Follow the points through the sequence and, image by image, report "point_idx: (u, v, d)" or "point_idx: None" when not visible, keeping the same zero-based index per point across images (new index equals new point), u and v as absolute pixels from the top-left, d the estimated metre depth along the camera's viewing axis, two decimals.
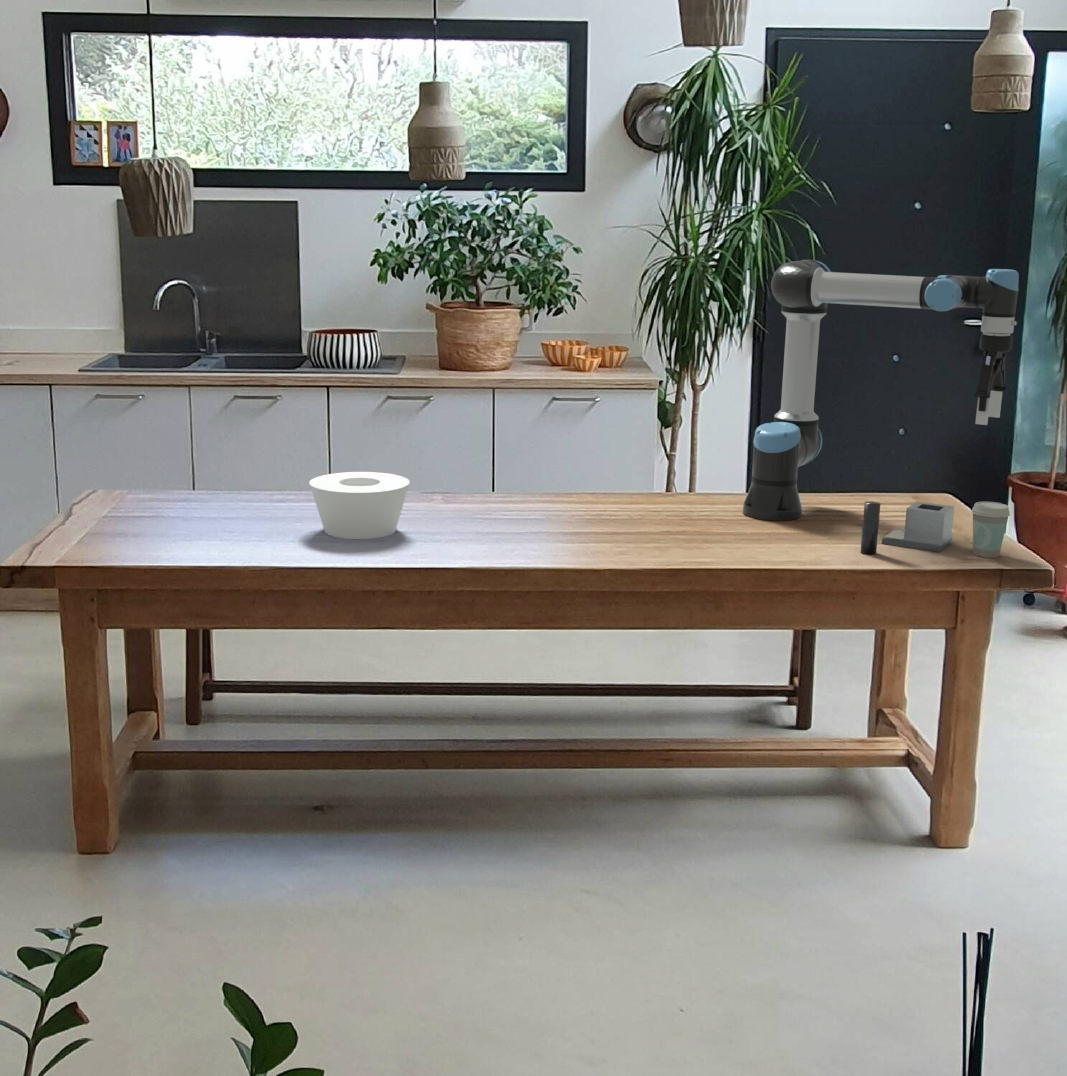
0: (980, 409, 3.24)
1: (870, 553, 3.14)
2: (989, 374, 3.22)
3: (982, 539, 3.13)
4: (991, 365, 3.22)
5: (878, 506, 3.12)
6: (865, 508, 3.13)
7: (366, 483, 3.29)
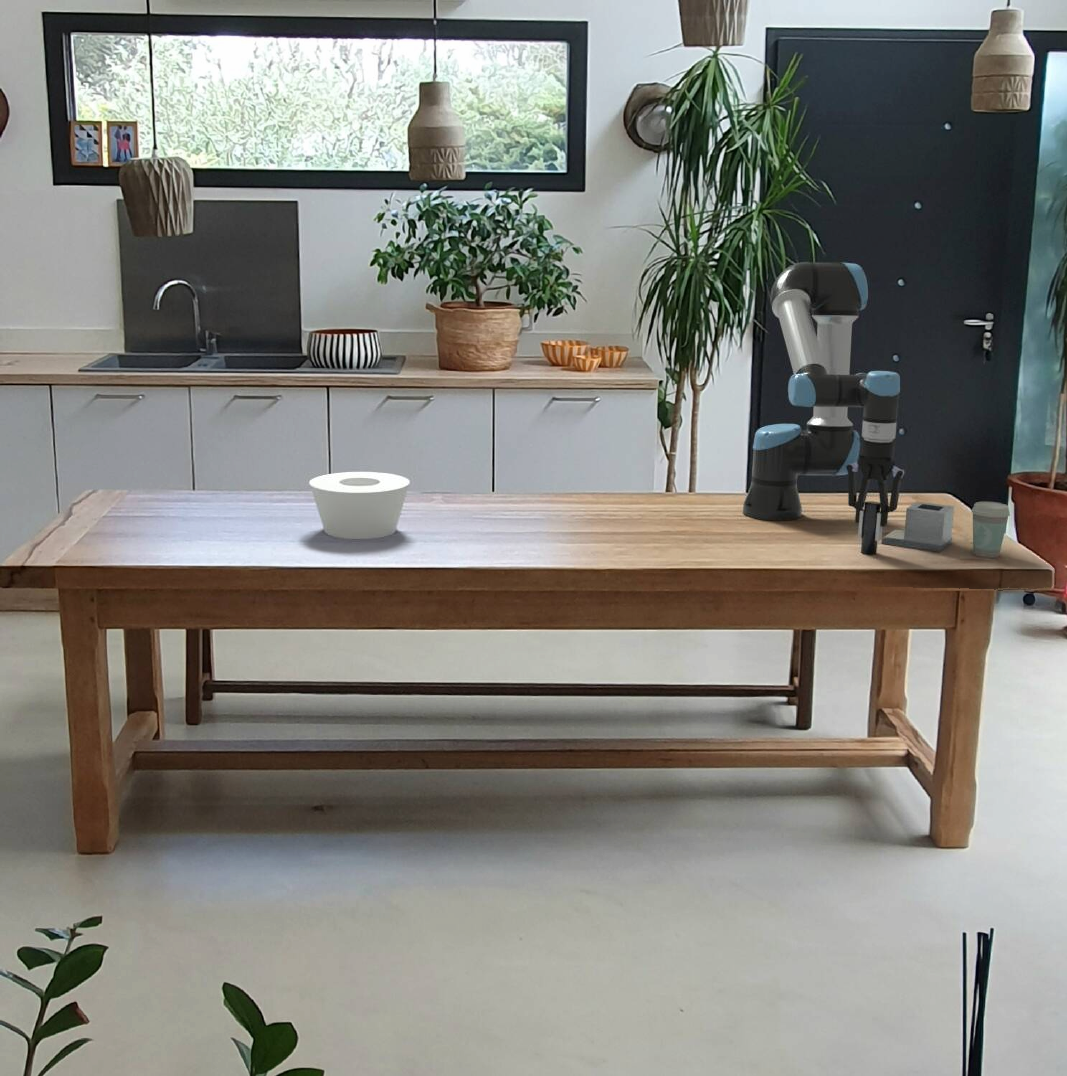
0: None
1: (870, 553, 3.14)
2: None
3: (982, 539, 3.13)
4: None
5: (878, 506, 3.11)
6: (865, 508, 3.13)
7: (366, 483, 3.29)
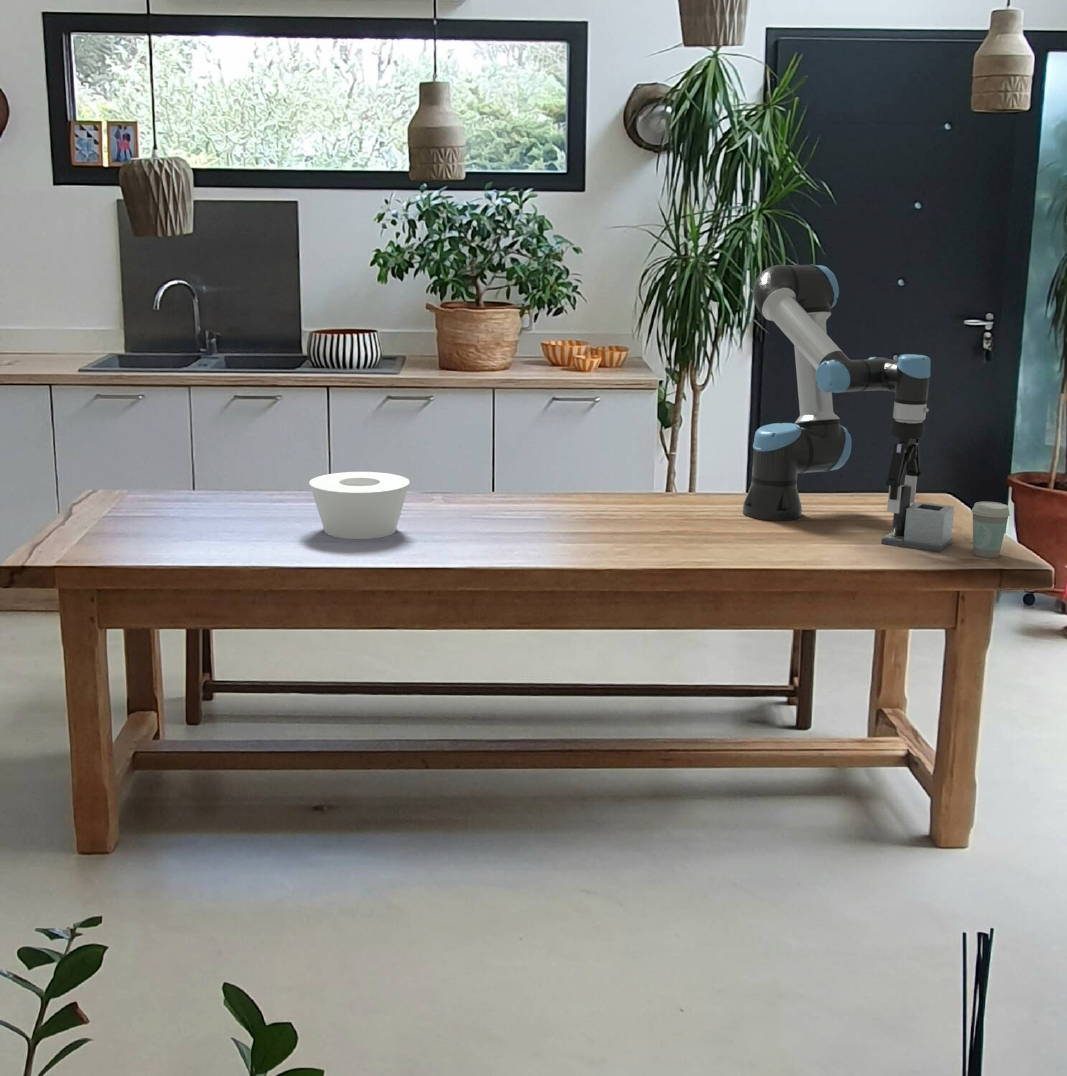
0: (891, 497, 3.18)
1: None
2: (900, 463, 3.16)
3: (982, 539, 3.13)
4: (902, 453, 3.16)
5: None
6: (907, 492, 3.23)
7: (366, 483, 3.29)
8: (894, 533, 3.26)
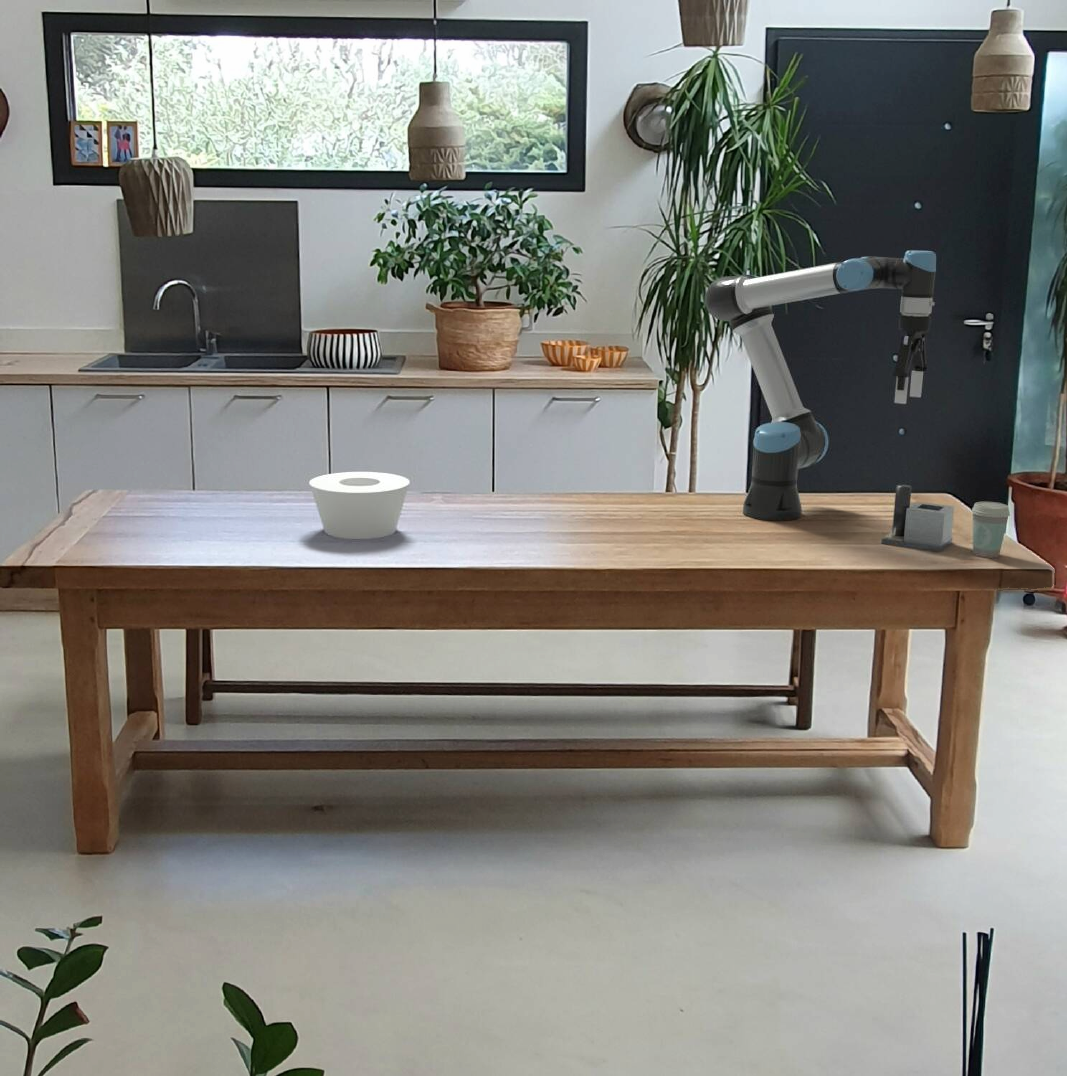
0: (898, 388, 3.30)
1: None
2: (907, 353, 3.28)
3: (982, 539, 3.13)
4: (909, 345, 3.28)
5: None
6: (907, 492, 3.23)
7: (366, 483, 3.29)
8: (894, 533, 3.26)
